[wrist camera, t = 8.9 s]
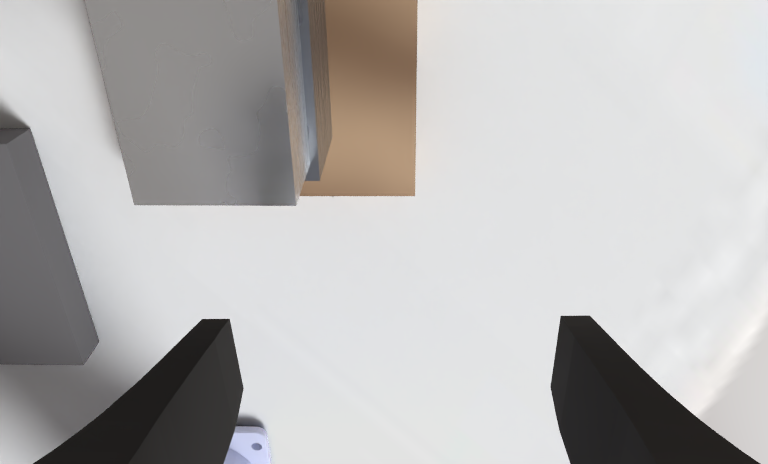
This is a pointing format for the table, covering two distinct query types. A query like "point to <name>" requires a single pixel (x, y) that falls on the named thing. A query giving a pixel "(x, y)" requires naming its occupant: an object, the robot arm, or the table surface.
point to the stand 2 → (370, 99)
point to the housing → (216, 97)
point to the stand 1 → (36, 267)
